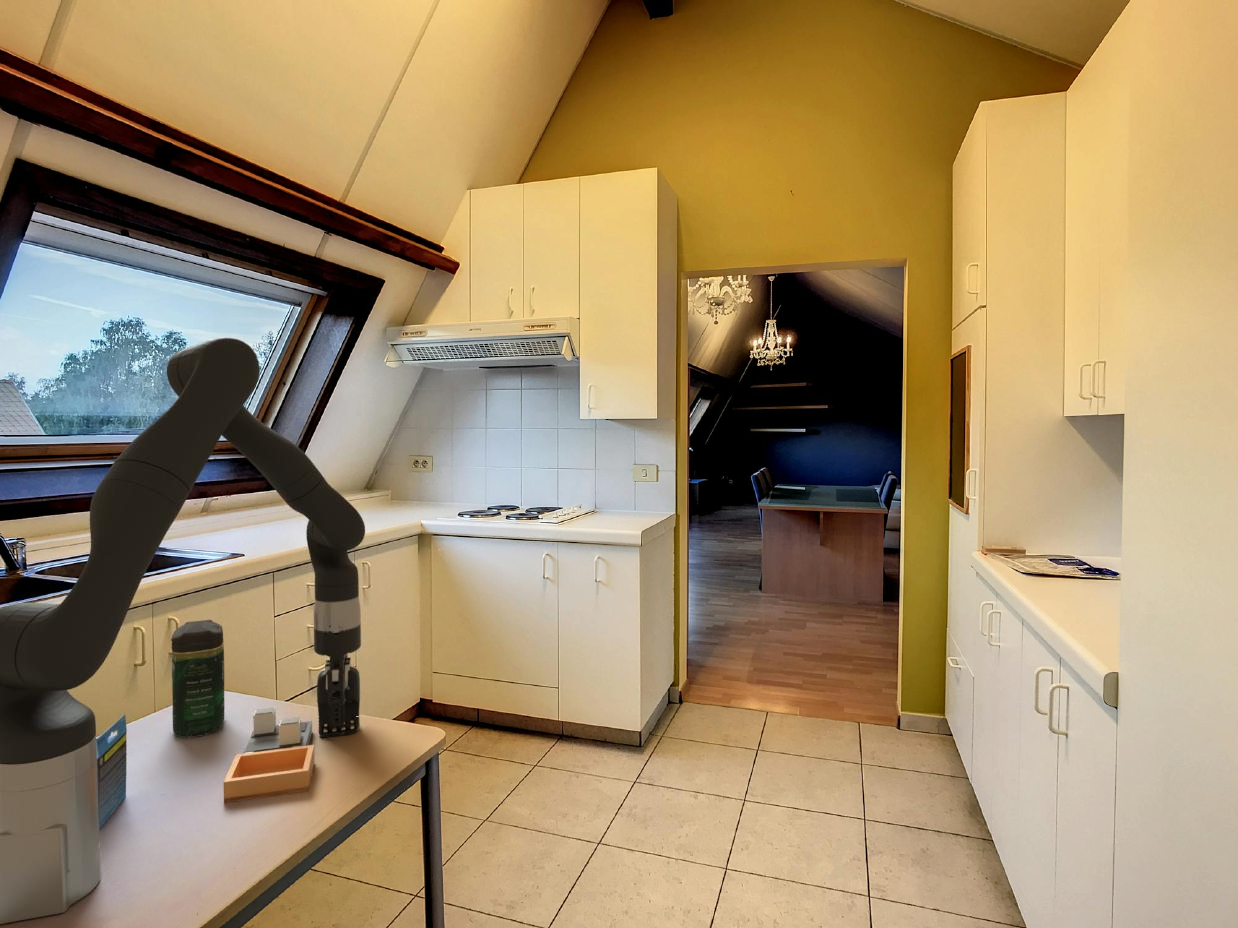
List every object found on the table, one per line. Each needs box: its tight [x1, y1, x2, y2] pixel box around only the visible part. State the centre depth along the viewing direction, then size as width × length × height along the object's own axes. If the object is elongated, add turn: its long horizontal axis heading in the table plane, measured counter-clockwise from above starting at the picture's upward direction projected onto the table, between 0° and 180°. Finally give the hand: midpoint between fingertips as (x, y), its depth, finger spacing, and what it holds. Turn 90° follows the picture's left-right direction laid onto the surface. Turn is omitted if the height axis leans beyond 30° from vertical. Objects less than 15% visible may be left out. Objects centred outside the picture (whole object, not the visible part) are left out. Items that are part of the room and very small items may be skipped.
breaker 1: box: [252, 706, 277, 735], centre depth 116 cm, size 2×3×3 cm
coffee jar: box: [170, 619, 226, 738], centre depth 121 cm, size 10×8×19 cm
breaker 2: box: [278, 716, 302, 745], centre depth 112 cm, size 2×3×3 cm
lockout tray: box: [222, 744, 315, 804], centre depth 103 cm, size 9×11×3 cm
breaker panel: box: [242, 720, 313, 754], centre depth 113 cm, size 12×9×2 cm
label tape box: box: [96, 713, 128, 830], centre depth 94 cm, size 9×4×12 cm, turn 15°
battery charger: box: [316, 665, 361, 738], centre depth 120 cm, size 7×4×11 cm, turn 109°
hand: (338, 715), depth 120 cm, fingers open, 7 cm apart
